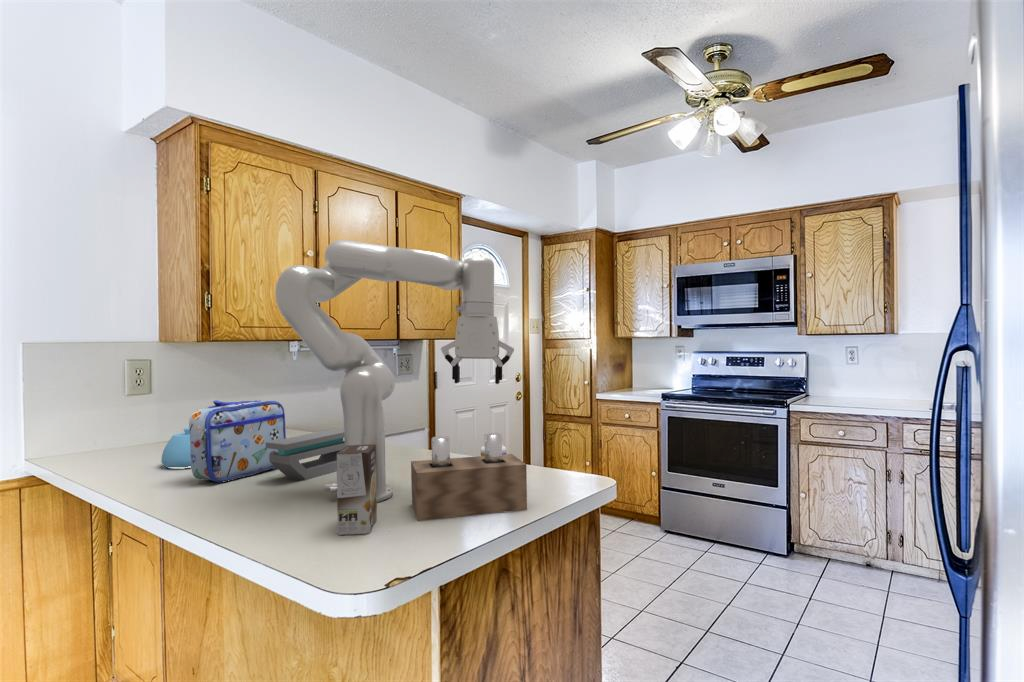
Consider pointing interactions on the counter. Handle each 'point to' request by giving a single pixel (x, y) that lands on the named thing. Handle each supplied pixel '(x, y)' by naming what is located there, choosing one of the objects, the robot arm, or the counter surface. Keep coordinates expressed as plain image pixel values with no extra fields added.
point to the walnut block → (468, 487)
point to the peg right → (493, 448)
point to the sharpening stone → (307, 454)
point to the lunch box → (234, 438)
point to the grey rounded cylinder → (440, 451)
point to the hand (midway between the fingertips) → (477, 383)
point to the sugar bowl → (177, 451)
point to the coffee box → (356, 489)
